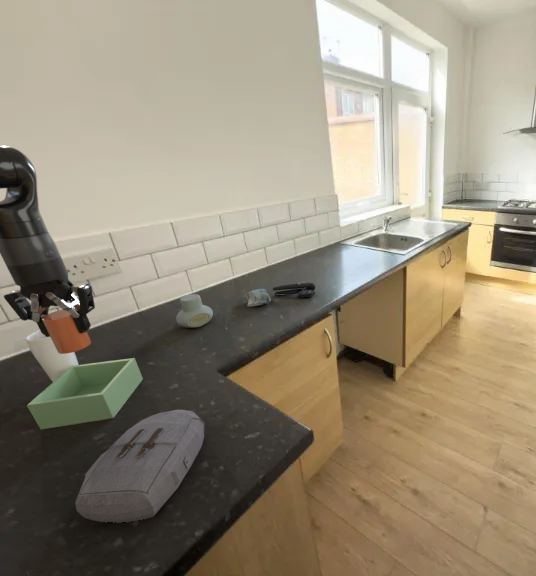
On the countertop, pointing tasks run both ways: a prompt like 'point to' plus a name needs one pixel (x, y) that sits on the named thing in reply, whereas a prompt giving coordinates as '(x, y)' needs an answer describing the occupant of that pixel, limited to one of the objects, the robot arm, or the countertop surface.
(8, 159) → the robot arm
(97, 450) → the countertop surface
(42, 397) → the box
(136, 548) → the countertop surface
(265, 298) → the packaged food
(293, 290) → the can opener
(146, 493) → the small grey backpack
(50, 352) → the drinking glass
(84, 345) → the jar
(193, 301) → the air freshener
